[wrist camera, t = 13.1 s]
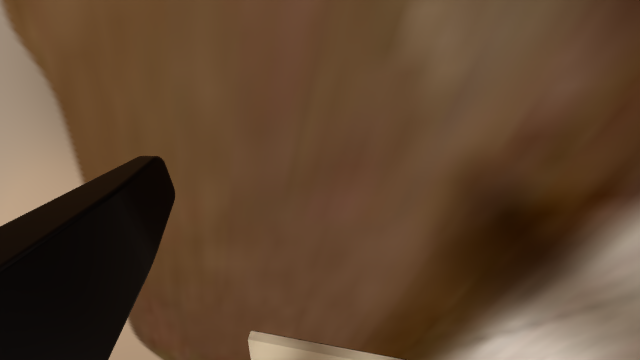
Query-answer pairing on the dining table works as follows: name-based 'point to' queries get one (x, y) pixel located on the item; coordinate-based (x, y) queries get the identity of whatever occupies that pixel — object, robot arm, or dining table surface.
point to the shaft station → (301, 350)
